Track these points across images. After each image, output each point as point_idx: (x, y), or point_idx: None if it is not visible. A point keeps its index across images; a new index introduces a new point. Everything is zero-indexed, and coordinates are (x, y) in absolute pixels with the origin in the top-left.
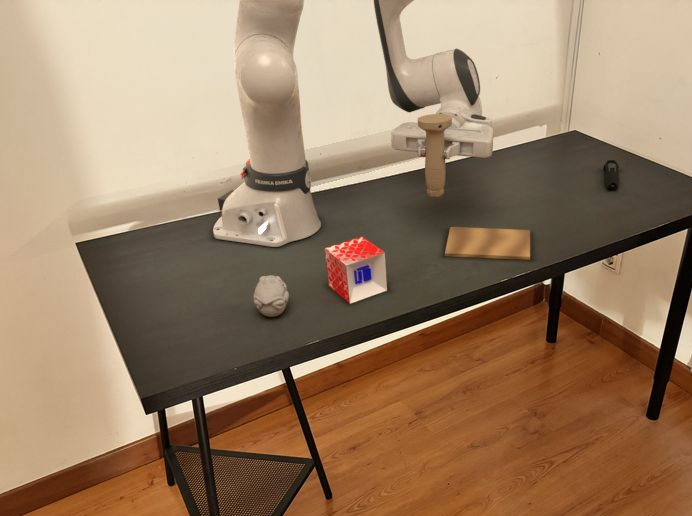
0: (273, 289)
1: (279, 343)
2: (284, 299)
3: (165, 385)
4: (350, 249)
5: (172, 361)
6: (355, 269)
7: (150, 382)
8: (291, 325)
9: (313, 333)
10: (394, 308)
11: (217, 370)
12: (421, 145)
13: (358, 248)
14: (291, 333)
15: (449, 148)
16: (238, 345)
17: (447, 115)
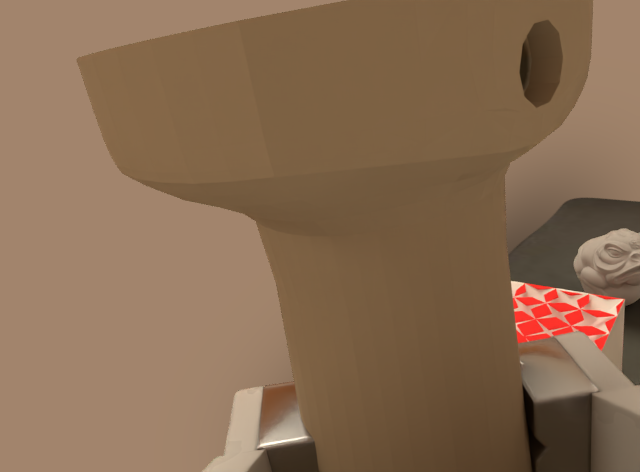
0: (594, 240)
1: (521, 272)
2: (577, 266)
3: (574, 205)
4: (551, 318)
5: (618, 217)
6: None
7: (596, 201)
8: None
9: None
10: None
11: (545, 228)
12: (606, 377)
13: (534, 328)
14: None
15: (239, 429)
16: (574, 253)
17: (156, 41)
